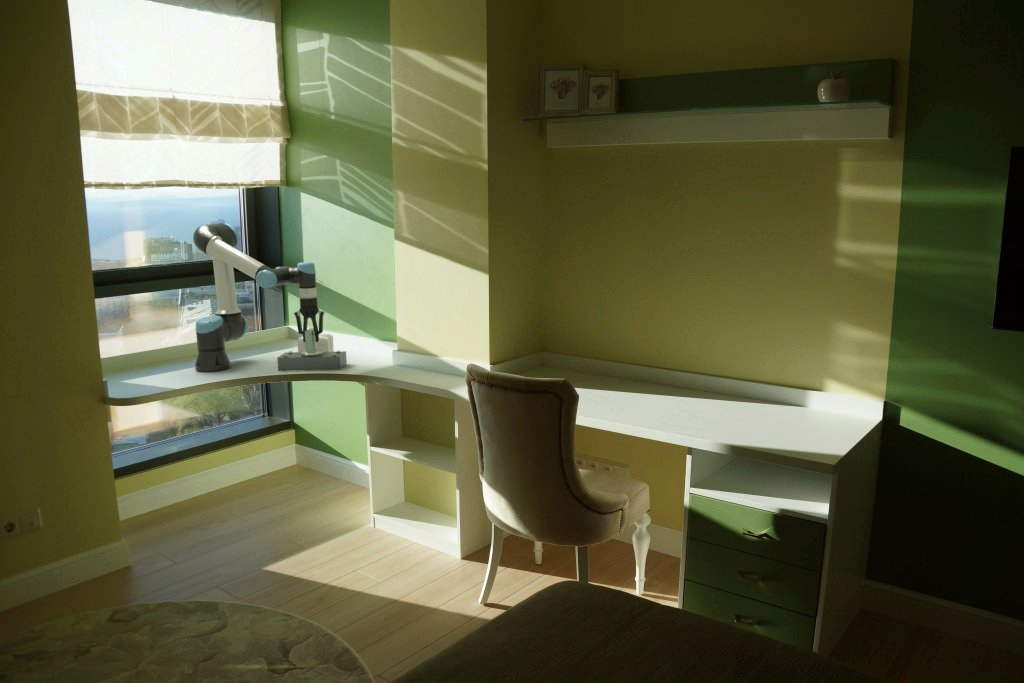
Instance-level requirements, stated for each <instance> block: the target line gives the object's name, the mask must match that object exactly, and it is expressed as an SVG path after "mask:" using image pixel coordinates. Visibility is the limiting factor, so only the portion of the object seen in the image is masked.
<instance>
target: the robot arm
mask: <svg viewBox="0 0 1024 683" xmlns="http://www.w3.org/2000/svg"><path fill="white" fill-rule="evenodd" d="M192 240H193V244H194V245H195V247H196V248H197V249H198V250H199V251H200V252H202V253H204V254H205V255H208V256H210V257H211V258H212V263H213V275H214V284H215V292H216V294H215V295H216V300H217V301H216V302H217V310H216V311H215V315H208V316H204V317H200V318H199V319H197V320H196V321H195V335H196V336H195V337H196V343H197V344H196V345H197V355H196V356H197V357H196V361H195V365H194V367H195V371H196V370H197V372H200V371H213V372H219V371H218V370H221V371H224V370H223V369H225V370H228V369H230V368H231V366H232V365H231V361H230V358H229V356H228V354H227V352H226V343H227V342H230V341H236V340H239V339H241V338H242V337H244V336H245V335H246V333H247V332H248V328H249V325H248V324H249V322H248V320H247V318H246V317H245V315H243V314H242V310H241V309H240V308H239V307H238V301H237V291H236V281H235V271H234V269H237V270H238V271H240V272H242V273H243V274H245V275H247V276H249V277H250V278H252V279H254V280H256V283H257V285H258V286H259V287H261V288H262V289H263V288H264V289H267V288H268V289H269V288H273V287H279V286H283V285H298V290H299V291H298V292H299V293H298V294H299V306H300V307H299V310H298V311H295V312H294V313H293V315H294V317H295V319H296V324H297V325H296V326H297V331H298V335H302V337H303V341H304V342H305V331H306V330H308V323H309V322H308V320H309V319H310V320H311V322H312V327H313V328H314V332H315V335H313V337H314V350H316V349H317V342H318V341H319V334H321V333H323V332H324V316H325V310H323V311H322V310H320V309H319V307H318V297H317V296H318V293H317V292H318V290H317V279H316V277H317V276H316V274H317V272H316V266H315V263H314V262H310V261H308V262H305V261H304V262H298V263H297V266H276V267H275V268H271V267H269V266H267V265H265V264H264V263H262V262H260V261H258V260H257V259H255V258H253V257H251V255H250V256H249V255H248V254H246V253H244V252H243V251H241V250H239V249H237V248H236V247H237V245H238V244H239V241H240V237H239V233H238V231H237V229H236V228H235V227H234V226H232V225H231V224H229V223H222V222H221V223H211V224H208V223H207V224H202V225H200V226H198V227H197V228H196V229H195V230H194V232H193V236H192ZM301 315H302V316H303V324H302V319H301ZM317 315H318V316H319V317H318V323H317V317H316V316H317Z"/></svg>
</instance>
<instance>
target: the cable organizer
mask: <svg viewBox="0 0 1024 683" xmlns="http://www.w3.org/2000/svg"><path fill="white" fill-rule="evenodd" d="M317 349H318V350H322V351H323V352H335V349H334V336H333V334H332V333H327V332H326V333H325V332H324V333H323V332H322V333H321V334H319V341H318V342H317ZM302 351H306V342H304V341H303V336H301V337H299V338H298V339H297V352H302Z"/></svg>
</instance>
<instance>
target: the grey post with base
mask: <svg viewBox="0 0 1024 683" xmlns="http://www.w3.org/2000/svg"><path fill="white" fill-rule="evenodd" d="M313 335H315V332H314V328H311V327H309V328H307V330H306V331H305V342H306V351H302V352H301V355H303V356H319V355H321V354H323V351H322V350H318V349H316V350H314V337H313Z"/></svg>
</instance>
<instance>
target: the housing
mask: <svg viewBox="0 0 1024 683" xmlns="http://www.w3.org/2000/svg"><path fill="white" fill-rule="evenodd" d="M347 363H348V362H347V351H340V350H336V351H334V352H323V354H321V355H319V356H303V355H301V352H298V351H294V352H293V351H289V350H288V351H287V352H284V353H282V354H281V355H279V356H278V357H277V370H278V372H284V371H285V372H287V371H286V370H304V371H341V370H343V368H345V367H346V366H347V365H348V364H347Z"/></svg>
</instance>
